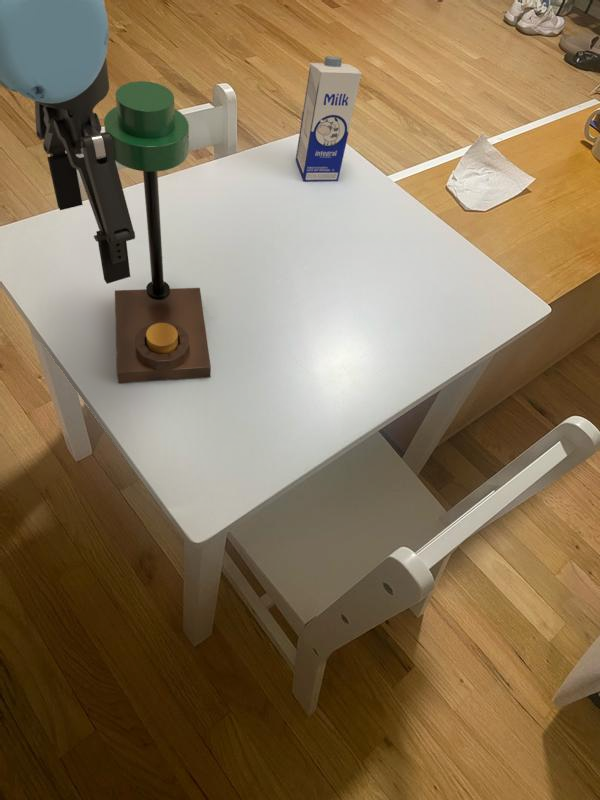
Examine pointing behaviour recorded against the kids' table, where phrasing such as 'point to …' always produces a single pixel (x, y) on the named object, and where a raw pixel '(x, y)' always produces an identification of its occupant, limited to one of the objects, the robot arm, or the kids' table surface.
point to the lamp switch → (162, 338)
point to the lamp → (149, 153)
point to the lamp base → (143, 312)
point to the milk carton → (326, 119)
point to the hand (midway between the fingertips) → (92, 240)
